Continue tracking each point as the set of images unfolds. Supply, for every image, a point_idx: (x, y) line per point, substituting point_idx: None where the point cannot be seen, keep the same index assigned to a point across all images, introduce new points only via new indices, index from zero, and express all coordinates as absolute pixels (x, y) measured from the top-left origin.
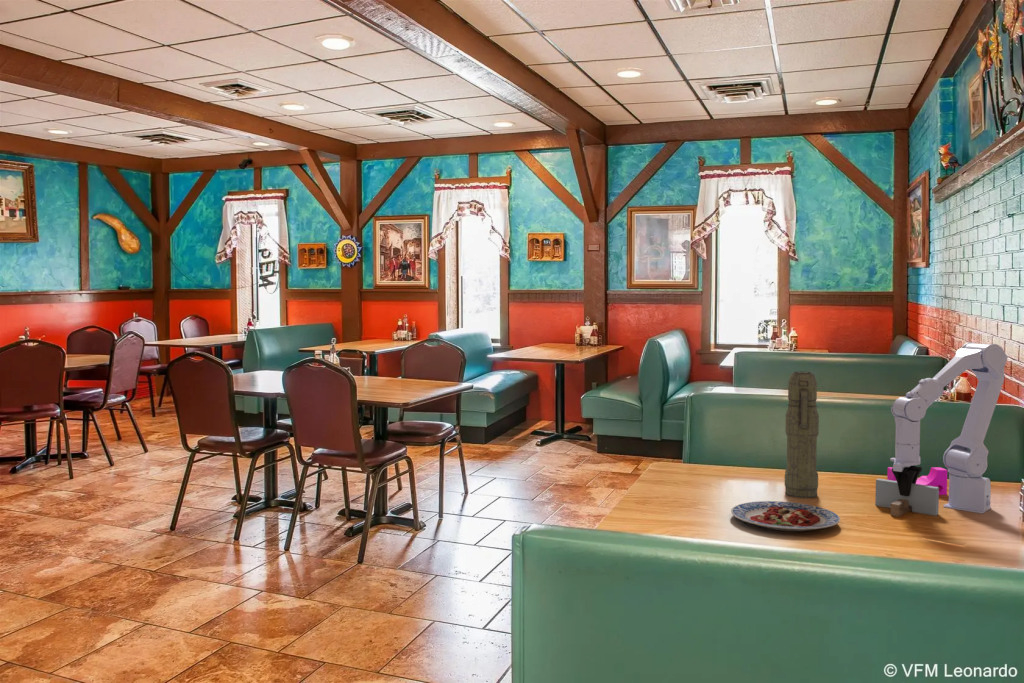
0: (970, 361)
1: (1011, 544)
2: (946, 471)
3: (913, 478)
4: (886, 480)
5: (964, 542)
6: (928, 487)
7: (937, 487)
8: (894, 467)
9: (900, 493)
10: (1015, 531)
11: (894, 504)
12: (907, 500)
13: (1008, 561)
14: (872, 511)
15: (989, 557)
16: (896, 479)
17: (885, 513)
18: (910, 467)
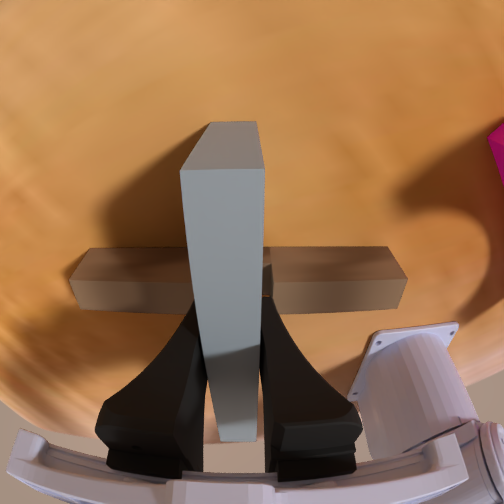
0: None
1: None
2: None
3: (264, 413)
4: (225, 255)
5: (58, 401)
6: (218, 428)
7: (246, 440)
8: (17, 452)
9: (192, 305)
10: (216, 443)
11: (74, 293)
12: None
13: (46, 427)
14: (84, 167)
15: (36, 416)
16: (149, 365)
17: (100, 222)
18: (274, 472)
